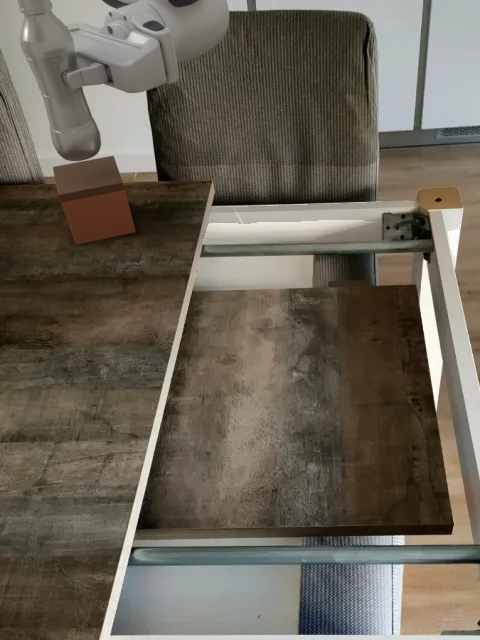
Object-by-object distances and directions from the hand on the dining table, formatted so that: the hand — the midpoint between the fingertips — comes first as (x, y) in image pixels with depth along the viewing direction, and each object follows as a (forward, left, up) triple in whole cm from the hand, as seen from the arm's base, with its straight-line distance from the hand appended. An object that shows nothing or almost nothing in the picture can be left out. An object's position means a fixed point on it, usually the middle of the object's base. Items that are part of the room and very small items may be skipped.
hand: (50, 75), depth 84 cm
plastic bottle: (+1, 0, -11) cm, 11 cm away
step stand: (+1, +1, -22) cm, 22 cm away
